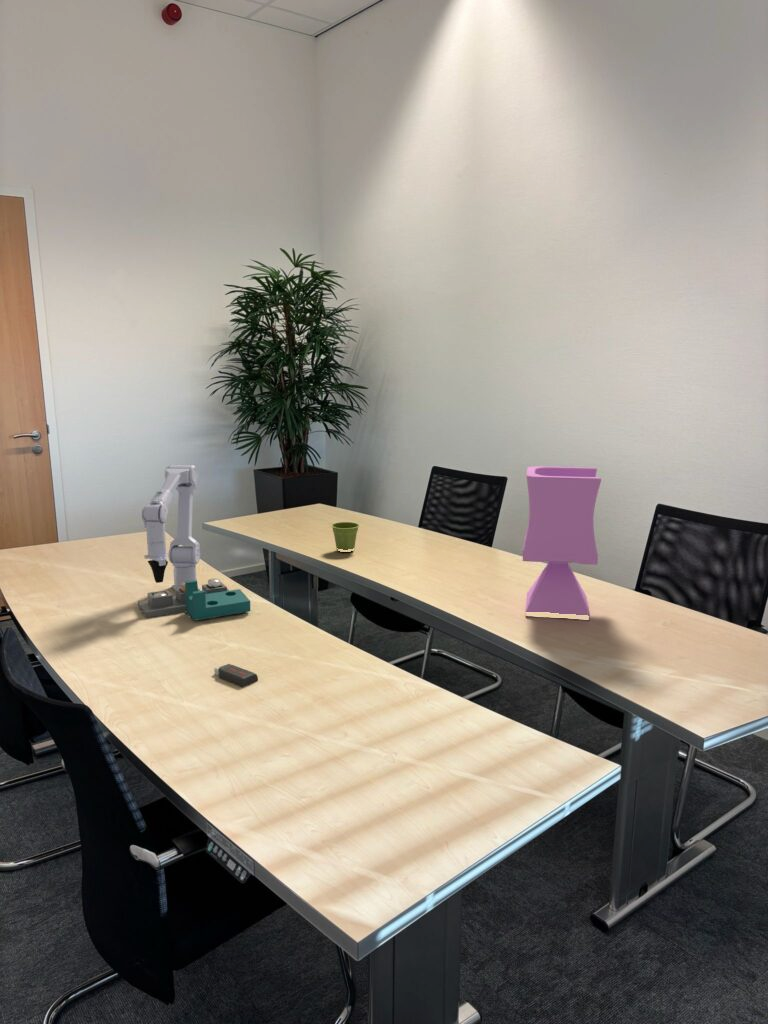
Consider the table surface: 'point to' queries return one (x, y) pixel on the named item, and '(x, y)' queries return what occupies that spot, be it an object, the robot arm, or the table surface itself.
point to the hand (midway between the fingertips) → (159, 581)
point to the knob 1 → (159, 594)
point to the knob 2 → (213, 583)
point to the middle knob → (183, 587)
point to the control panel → (170, 601)
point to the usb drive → (236, 675)
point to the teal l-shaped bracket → (213, 602)
